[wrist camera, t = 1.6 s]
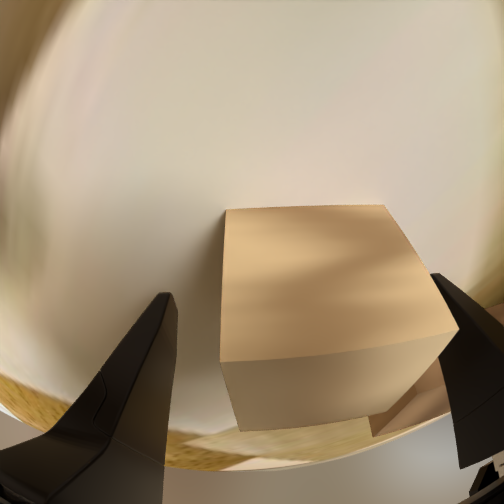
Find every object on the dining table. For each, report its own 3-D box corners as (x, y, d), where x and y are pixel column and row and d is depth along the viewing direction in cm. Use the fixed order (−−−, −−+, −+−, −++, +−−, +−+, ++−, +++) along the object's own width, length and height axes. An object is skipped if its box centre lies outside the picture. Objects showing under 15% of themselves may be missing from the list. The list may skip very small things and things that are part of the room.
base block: (502, 298, 14) (528, 345, 11) (453, 365, 19) (467, 403, 16) (394, 328, 14) (417, 393, 11) (362, 392, 20) (372, 437, 17)
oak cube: (382, 203, 9) (459, 329, 5) (354, 304, 12) (386, 411, 8) (226, 208, 9) (219, 361, 5) (237, 313, 12) (239, 431, 8)
